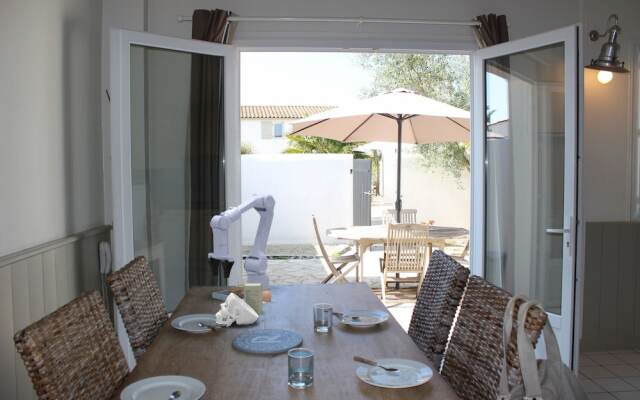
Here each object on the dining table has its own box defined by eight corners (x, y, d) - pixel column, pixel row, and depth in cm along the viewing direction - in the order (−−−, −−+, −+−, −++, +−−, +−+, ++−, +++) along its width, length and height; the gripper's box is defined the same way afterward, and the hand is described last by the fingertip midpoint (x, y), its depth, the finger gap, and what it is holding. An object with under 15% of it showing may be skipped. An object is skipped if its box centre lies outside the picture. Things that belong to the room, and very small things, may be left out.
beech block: (240, 293, 259) (240, 284, 259) (247, 294, 257) (247, 285, 257) (234, 295, 256) (234, 286, 256) (242, 296, 254) (242, 286, 254)
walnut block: (235, 297, 251) (235, 288, 251) (242, 299, 248) (242, 289, 248) (228, 299, 248) (228, 289, 248) (234, 300, 245) (234, 291, 245)
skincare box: (263, 315, 228) (262, 283, 227) (260, 318, 224) (260, 285, 223) (246, 314, 229) (246, 282, 228) (243, 317, 224) (243, 285, 224)
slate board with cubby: (240, 295, 263) (240, 287, 262) (277, 304, 246) (277, 295, 246) (212, 301, 252) (212, 292, 252) (249, 310, 235) (249, 301, 235)
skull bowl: (210, 317, 220) (229, 288, 220) (243, 336, 221) (261, 308, 221) (208, 324, 209) (227, 294, 209) (243, 344, 211) (262, 315, 211)
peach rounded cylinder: (266, 299, 248) (266, 289, 248) (273, 301, 245) (273, 291, 245) (259, 301, 245) (259, 291, 245) (266, 302, 242) (266, 292, 242)
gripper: (202, 243, 252) (202, 276, 253) (223, 247, 243) (224, 280, 243) (215, 242, 258) (216, 273, 258) (237, 245, 248) (237, 277, 249)
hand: (221, 276), depth 251 cm, fingers open, 7 cm apart
